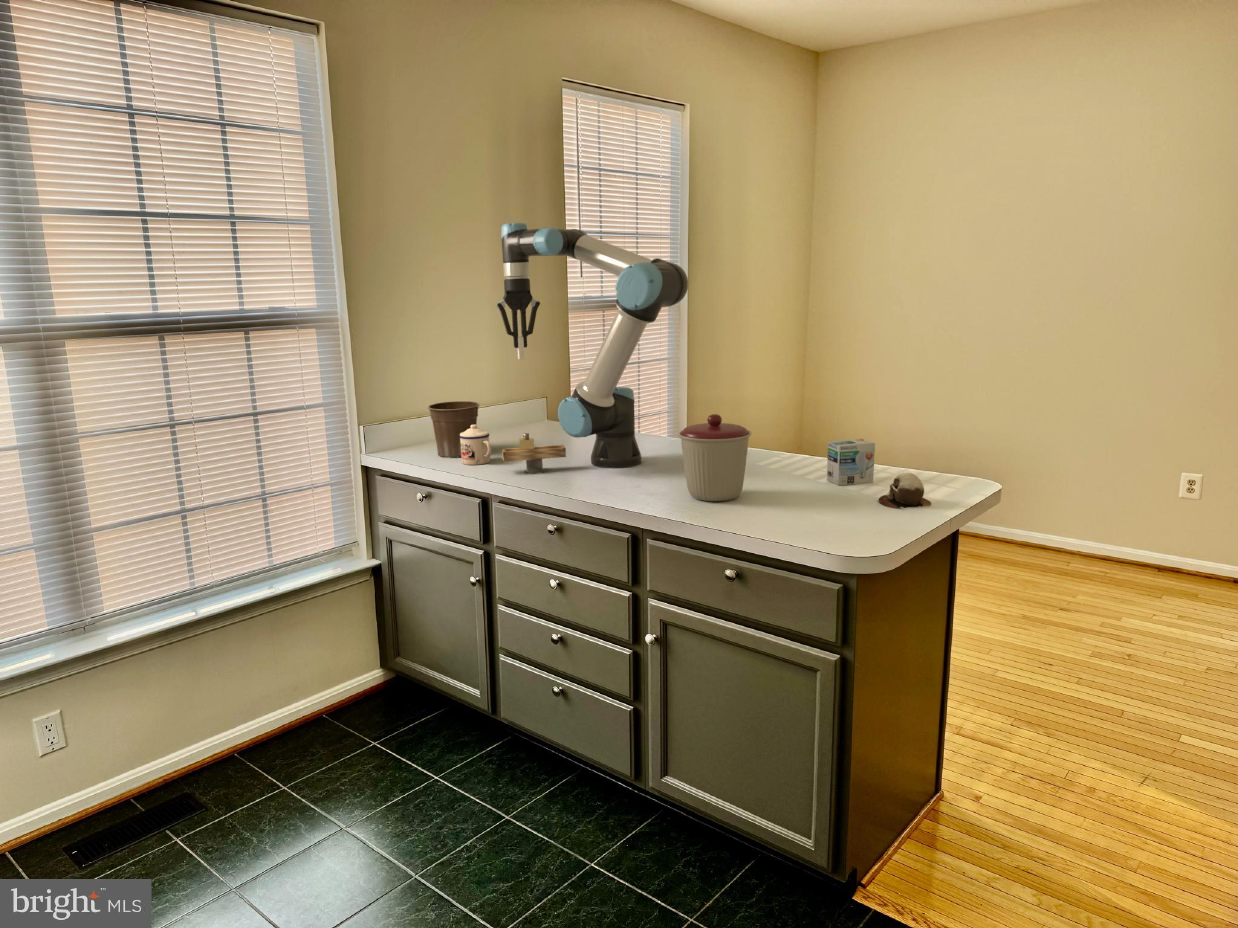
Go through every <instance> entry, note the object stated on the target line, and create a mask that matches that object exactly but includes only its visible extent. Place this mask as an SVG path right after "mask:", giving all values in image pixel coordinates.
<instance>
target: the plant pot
mask: <svg viewBox="0 0 1238 928" xmlns="http://www.w3.org/2000/svg"><path fill="white" fill-rule="evenodd" d="M479 407H480V403H479V402H477V401H471V400H469V401H468V400H467V401H465V400H464V401H463V400H461V401H460V400H459V401H458V400H457V401H444V402H436V403H433V404H429V405H428V406H427V409H428V410H429V415H430V419H431V420H432V426H433V432H434V438H435V439H434V440H435V444H436V450H437V455H438V456H439V457H440V458H445V457H450V458H449V459H452V458H451V457H458V458H461V442H460V437H459V436H460V433H462V432H465V431H466V430H467V429H470V428H471V425H477V421H478V416H479ZM477 426H478V425H477Z"/></svg>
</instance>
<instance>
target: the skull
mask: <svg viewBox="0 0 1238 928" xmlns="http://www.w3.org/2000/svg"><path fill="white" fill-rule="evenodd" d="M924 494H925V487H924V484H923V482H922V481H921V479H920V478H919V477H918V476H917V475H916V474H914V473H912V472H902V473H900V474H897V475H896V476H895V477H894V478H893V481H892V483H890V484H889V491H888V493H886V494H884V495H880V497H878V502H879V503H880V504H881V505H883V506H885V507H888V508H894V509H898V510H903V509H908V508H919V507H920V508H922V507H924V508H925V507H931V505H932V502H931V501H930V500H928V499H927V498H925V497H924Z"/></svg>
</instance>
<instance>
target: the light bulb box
mask: <svg viewBox="0 0 1238 928" xmlns="http://www.w3.org/2000/svg"><path fill="white" fill-rule="evenodd" d="M875 449H876V443H875V442H872V441H869V440H867V439H865V438H857V439H856V438H855V439H842V440H833V441H827V461H826V462H827V465H826V466H827V467H826V481H827V482H830V483H832V484H835V485H836V486H846V485H847V486H849V485H858V484H859V485H861V484H873V483H874V476H875V475H874V471H875Z"/></svg>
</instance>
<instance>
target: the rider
mask: <svg viewBox="0 0 1238 928" xmlns="http://www.w3.org/2000/svg"><path fill="white" fill-rule="evenodd" d="M522 437H523V438H518V444H519V445H518V446H519V447H518V448H519V450H520V451H521V450H534V447H535V439H534V438H533V437H530V433H528V432H524V433H523V435H522Z"/></svg>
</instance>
